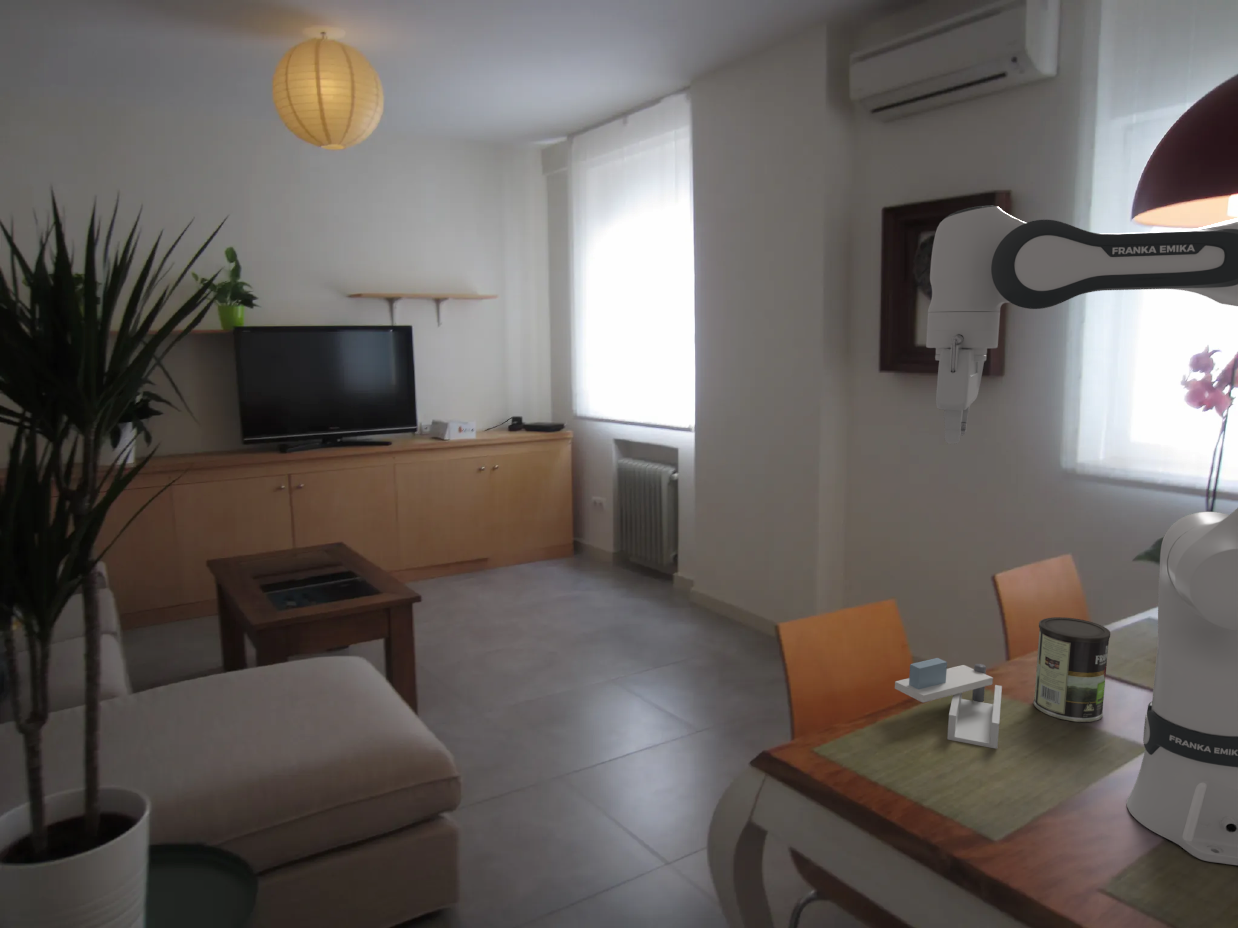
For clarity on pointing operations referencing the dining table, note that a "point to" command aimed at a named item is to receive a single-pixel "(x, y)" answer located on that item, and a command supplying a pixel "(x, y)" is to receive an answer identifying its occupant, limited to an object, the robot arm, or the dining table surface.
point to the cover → (943, 680)
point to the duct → (975, 720)
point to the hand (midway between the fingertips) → (955, 438)
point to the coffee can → (1071, 669)
